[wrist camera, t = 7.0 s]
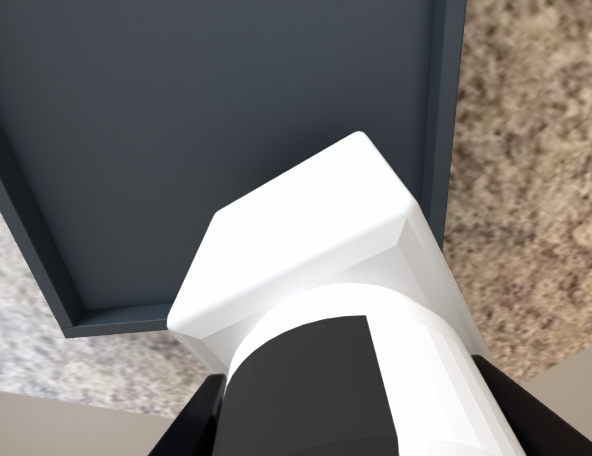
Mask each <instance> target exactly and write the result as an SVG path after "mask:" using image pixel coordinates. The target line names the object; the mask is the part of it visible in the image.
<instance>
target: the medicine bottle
mask: <svg viewBox="0 0 592 456" xmlns="http://www.w3.org/2000/svg"><path fill="white" fill-rule="evenodd" d="M167 328H168V329H169V331H170V332H171V333H172V334H173V335H174V336H175V337H176V338H177V339H178V340H179V341H180V342H181V343H182V344H183V345H184V346H185V347H186V348H187V349H188V350H189V351H190V352H191V353H192V354H193V355H194V356H195V357H196V358H197V359H198V360H199V361H200V362H201V364H202V365H203V366H204V367H205V368H206V369H207V370H208V371H209V372H210V373H211V374H220V373H223V374H225V375H226V377H227V383H226V388H225V393H224V398H223V403H222V408H221V413H220V418H219V423H218V428H217V433H216V438H215V443H214V449H213V454H212V456H526V454H525V452H524V451H523V449H522V447H521V445H520V443H519V442H518V440H517V438H516V436H515V434H514V433H513V431H512V429H511V427H510V426H509V424H508V422H507V420H506V418H505V417H504V415H503V413H502V411H501V409H500V408H499V406H498V404H497V402H496V400H495V399H494V397H493V395H492V393H491V392H490V390H489V388H488V386H487V384H486V383H485V381H484V379H483V377H482V375H481V374H480V372H479V370H478V368H477V366H476V365H475V363H474V361H473V359H472V357H471V356H470V355H473V354H478V355H481V356H482V357H484V358H485V359H486V360H488V361H489V362H490V363H491V364H493V365H494V366H495V367H497V366H496V364H495V362H494V360H493V358H492V356H491V354H490V352H489V350H488V348H487V346H486V343H485V341H484V339H483V337H482V335H481V333H480V331H479V329H478V327H477V325H476V323H475V321H474V319H473V317H472V314H471V312H470V310H469V308H468V306H467V304H466V302H465V300H464V298H463V296H462V294H461V292H460V290H459V288H458V285H457V283H456V281H455V279H454V277H453V275H452V273H451V271H450V269H449V267H448V265H447V263H446V261H445V259H444V256H443V254H442V252H441V250H440V248H439V246H438V244H437V242H436V240H435V238H434V236H433V234H432V232H431V230H430V228H429V225H428V223H427V221H426V219H425V217H424V215H423V213H422V211H421V209H420V207H419V205H418V203H417V201H416V200H415V198H414V197H413V196H412V194H411V193H410V192H409V191H408V189H407V188H406V187H405V185H404V184H403V183H402V181H401V180H400V179H399V177H398V176H397V175H396V173H395V172H394V171H393V169H392V168H391V167H390V165H389V164H388V163H387V162H386V160H385V159H384V158H383V156H382V155H381V154H380V152H379V151H378V150H377V148H376V147H375V146H374V144H373V143H372V142H371V140H370V139H369V138H368V137H367V135H366V134H365V133H364V132H360V131H358V132H355V133H353V134H351V135H349V136H347V137H346V138H344V139H342V140H340V141H339V142H337V143H335V144H333V145H332V146H330V147H328V148H327V149H325V150H323V151H321V152H320V153H318V154H316V155H314V156H313V157H311V158H309V159H307V160H306V161H304V162H302V163H301V164H299V165H297V166H295V167H294V168H292V169H290V170H288V171H287V172H285V173H283V174H281V175H280V176H278V177H276V178H275V179H273V180H271V181H269V182H268V183H266V184H264V185H262V186H261V187H259V188H257V189H255V190H254V191H252V192H250V193H249V194H247V195H245V196H243V197H242V198H240V199H238V200H236V201H235V202H233V203H231V204H230V205H228V206H226V207H224V208H223V209H221V210H219V211H217V212H216V213H215V214H214V217H213V219H212V221H211V223H210V225H209V227H208V230H207V232H206V234H205V236H204V238H203V241H202V243H201V245H200V247H199V249H198V251H197V254H196V256H195V258H194V260H193V262H192V264H191V267H190V269H189V271H188V273H187V275H186V278H185V280H184V282H183V284H182V286H181V288H180V291H179V293H178V295H177V297H176V299H175V302H174V304H173V306H172V308H171V310H170V312H169V315H168V318H167Z"/></svg>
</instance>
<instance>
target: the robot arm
mask: <svg viewBox="0 0 592 456" xmlns="http://www.w3.org/2000/svg"><path fill="white" fill-rule="evenodd" d="M470 356H471V357H472V359H473V361H474V363H475V365H476V366H477V368H478V370H479V372H480V374H481V375H482V377H483V379H484V381H485V383H486V384H487V386H488V388H489V390H490V392H491V393H492V395H493V397H494V399H495V400H496V402H497V404H498V406H499V408H500V409H501V411H502V413H503V415H504V417H505V418H506V420H507V422H508V424H509V426H510V427H511V429H512V431H513V433H514V434H515V436H516V438H517V440H518V442H519V443H520V445H521V447H522V449H523V451H524V452H525V454H526V456H592V442H591V441H590V440H589V439H587V438H586V437H585V436H583V435H582V434H581V433H580V432H578V431H577V430H576V429H574V428H573V427H572V426H571V425H569V424H568V423H567V422H566V421H564V420H563V419H562V418H560V417H559V416H558V415H557V414H555V413H554V412H553V411H551V410H550V409H549V408H548V407H546V406H545V405H544V404H543V403H541V402H540V401H539V400H537V399H536V398H535V397H534V396H532V395H531V394H530V393H529V392H527V391H526V390H525V389H523V388H522V387H521V386H520V385H518V384H517V383H516V382H514V381H513V380H512V379H511V378H509V377H508V376H507V375H505V374H504V373H503V372H502V371H500V370H499V369H498V368H497V367H495V366H494V365H493V364H491V363H490V362H489V361H488V360H486V359H485V358H484V357H482V356H481V355H478V354H473V355H470ZM226 383H227V377H226V375H225V374H223V373H220V374H211V375H209V376H208V377H207V378H206V380H205V381H204V382H203V384H202V385H201V386H200V388H199V389H198V390H197V392H196V393H195V394H194V395H193V397H192V398H191V399H190V401H189V402H188V403H187V405H186V406H185V407H184V409H183V410H182V411H181V412H180V414H179V415H178V416H177V418H176V419H175V420H174V422H173V423H172V424H171V426H170V427H169V428H168V430H167V431H166V432H165V433H164V435H163V436H162V437H161V439H160V440H159V441H158V443H157V444H156V445H155V447H154V448H153V449H152V451H151V452H150V453H149V454H148V456H212V454H213V449H214V443H215V438H216V433H217V428H218V423H219V418H220V413H221V408H222V403H223V398H224V393H225V388H226Z"/></svg>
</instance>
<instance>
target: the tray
mask: <svg viewBox="0 0 592 456" xmlns="http://www.w3.org/2000/svg"><path fill="white" fill-rule="evenodd" d="M466 1H467V0H0V212H1V214H2V216H3V218H4V220H5V222H6V224H7V226H8V228H9V229H10V231H11V233H12V235H13V237H14V239H15V241H16V243H17V245H18V247H19V249H20V251H21V253H22V255H23V257H24V258H25V260H26V262H27V264H28V266H29V268H30V270H31V272H32V274H33V276H34V278H35V280H36V282H37V284H38V286H39V287H40V289H41V291H42V293H43V295H44V297H45V299H46V301H47V303H48V305H49V307H50V309H51V311H52V313H53V315H54V316H55V318H56V320H57V322H58V324H59V326H60V328H61V330H62V332H63V334H64V336H65V338H76V337H88V336H100V335H112V334H124V333H136V332H148V331H160V330H169V329H168V328H167V318H168V315H169V312H170V310H171V308H172V306H173V304H174V302H175V299H176V297H177V295H178V293H179V291H180V288H181V286H182V284H183V282H184V280H185V278H186V275H187V273H188V271H189V269H190V267H191V264H192V262H193V260H194V258H195V256H196V254H197V251H198V249H199V247H200V245H201V243H202V241H203V238H204V236H205V234H206V232H207V230H208V227H209V225H210V223H211V221H212V219H213V217H214V214H215V213H216V212H217V211H219V210H221V209H223V208H224V207H226V206H228V205H230V204H231V203H233V202H235V201H236V200H238V199H240V198H242V197H243V196H245V195H247V194H249V193H250V192H252V191H254V190H255V189H257V188H259V187H261V186H262V185H264V184H266V183H268V182H269V181H271V180H273V179H275V178H276V177H278V176H280V175H281V174H283V173H285V172H287V171H288V170H290V169H292V168H294V167H295V166H297V165H299V164H301V163H302V162H304V161H306V160H307V159H309V158H311V157H313V156H314V155H316V154H318V153H320V152H321V151H323V150H325V149H327V148H328V147H330V146H332V145H333V144H335V143H337V142H339V141H340V140H342V139H344V138H346V137H347V136H349V135H351V134H353V133H355V132H358V131H360V132H364V133H365V134H366V135H367V137H368V138H369V139H370V140H371V142H372V143H373V144H374V146H375V147H376V148H377V150H378V151H379V152H380V154H381V155H382V156H383V158H384V159H385V160H386V162H387V163H388V164H389V165H390V167H391V168H392V169H393V171H394V172H395V173H396V175H397V176H398V177H399V179H400V180H401V181H402V183H403V184H404V185H405V187H406V188H407V189H408V191H409V192H410V193H411V194H412V196H413V197H414V198H415V200H416V201H417V203H418V205H419V207H420V209H421V211H422V213H423V215H424V217H425V219H426V221H427V223H428V225H429V228H430V230H431V232H432V234H433V236H434V238H435V240H436V242H437V244H438V246H439V248H440V250H441V252H442V249H443V239H444V229H445V218H446V208H447V198H448V187H449V177H450V167H451V156H452V146H453V136H454V125H455V115H456V105H457V94H458V84H459V74H460V63H461V53H462V43H463V32H464V22H465V12H466Z"/></svg>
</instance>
